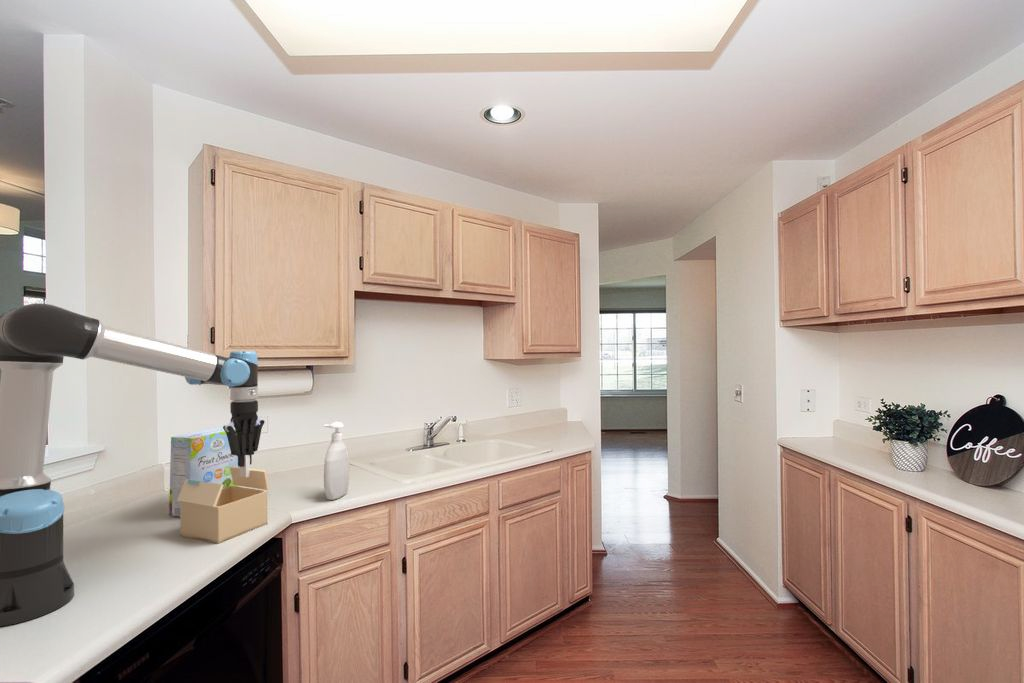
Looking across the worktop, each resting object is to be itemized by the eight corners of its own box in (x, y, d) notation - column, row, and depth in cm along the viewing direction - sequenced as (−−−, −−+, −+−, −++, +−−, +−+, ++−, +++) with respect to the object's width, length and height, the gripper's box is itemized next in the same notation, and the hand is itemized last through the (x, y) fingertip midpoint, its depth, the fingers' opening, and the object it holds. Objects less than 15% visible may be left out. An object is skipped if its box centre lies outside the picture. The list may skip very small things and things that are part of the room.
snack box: (190, 518, 155) (190, 437, 155) (167, 517, 157) (167, 436, 157) (241, 497, 176) (241, 426, 176) (220, 496, 178) (220, 425, 178)
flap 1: (215, 507, 135) (212, 506, 134) (179, 500, 141) (176, 500, 140) (223, 484, 137) (220, 484, 137) (188, 479, 143) (185, 478, 142)
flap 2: (264, 471, 150) (266, 470, 151) (229, 467, 155) (232, 466, 156) (267, 489, 151) (270, 488, 152) (233, 484, 157) (236, 483, 157)
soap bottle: (335, 489, 185) (335, 418, 185) (355, 490, 183) (355, 418, 183) (313, 502, 170) (313, 424, 170) (335, 503, 169) (334, 425, 169)
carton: (218, 543, 135) (218, 507, 135) (180, 535, 141) (180, 500, 142) (267, 523, 150) (267, 491, 150) (231, 517, 156) (230, 485, 156)
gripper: (233, 403, 145) (234, 483, 144) (270, 398, 157) (271, 472, 156) (216, 402, 147) (216, 480, 147) (253, 397, 159) (254, 470, 159)
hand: (244, 476), depth 152 cm, fingers closed
